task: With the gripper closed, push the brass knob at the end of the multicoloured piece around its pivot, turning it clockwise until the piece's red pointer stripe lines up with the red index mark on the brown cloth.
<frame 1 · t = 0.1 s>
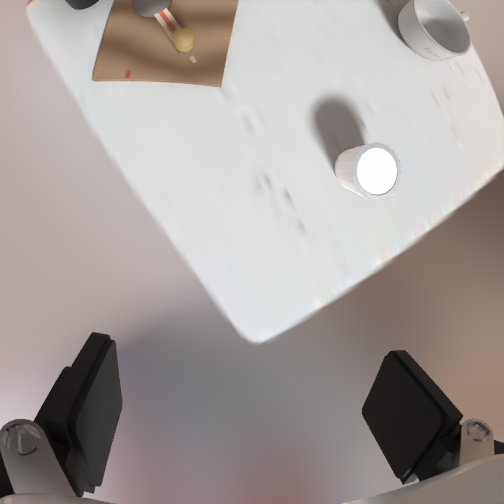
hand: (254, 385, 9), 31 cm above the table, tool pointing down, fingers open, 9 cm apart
multicoloured piece: (164, 15, 28), point 3 cm above the table, hinge at 0.0°
teacup: (422, 34, 34), on the table
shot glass: (352, 169, 39), on the table
brown cloth: (154, 7, 30), on the table
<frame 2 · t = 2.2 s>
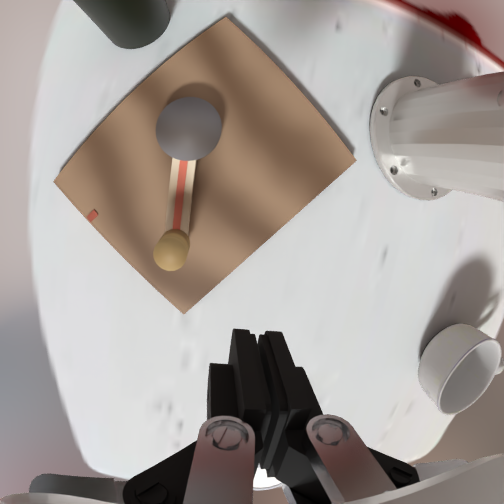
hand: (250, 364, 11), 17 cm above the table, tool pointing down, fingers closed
wine bottle: (138, 23, 20), on the table
multicoloured piece: (180, 178, 22), point 3 cm above the table, hinge at 0.0°
teacup: (446, 348, 35), on the table
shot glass: (257, 434, 35), on the table
brown cloth: (191, 131, 24), on the table
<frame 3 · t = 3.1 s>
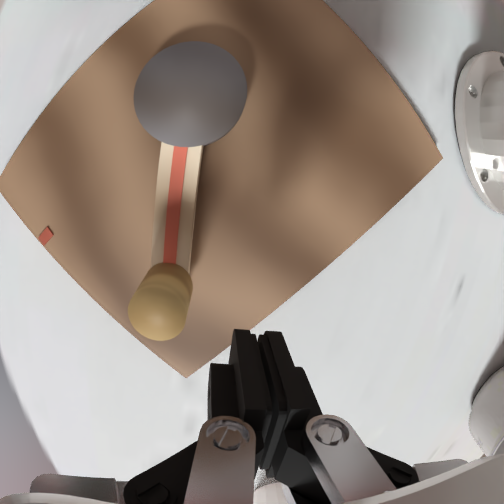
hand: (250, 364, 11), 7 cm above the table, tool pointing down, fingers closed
multicoloured piece: (173, 178, 12), point 3 cm above the table, hinge at 0.0°
teacup: (498, 385, 24), on the table
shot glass: (278, 491, 25), on the table
brown cloth: (194, 101, 14), on the table
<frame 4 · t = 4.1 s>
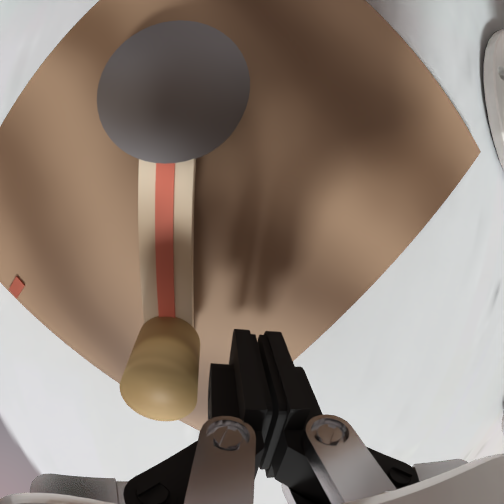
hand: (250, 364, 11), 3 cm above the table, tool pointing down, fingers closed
multicoloured piece: (158, 210, 9), point 3 cm above the table, hinge at -0.2°, touching gripper
brown cloth: (179, 101, 11), on the table
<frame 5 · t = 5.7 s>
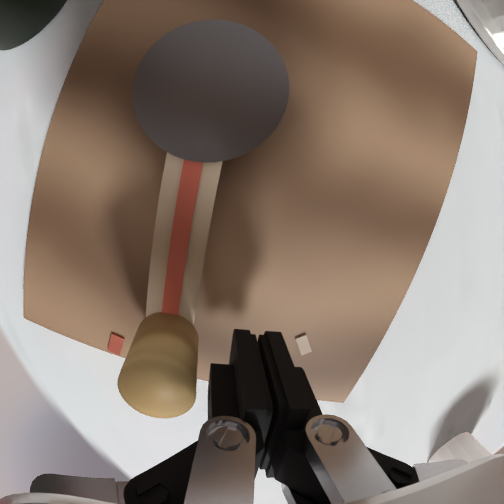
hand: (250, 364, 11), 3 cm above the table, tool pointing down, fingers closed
wine bottle: (29, 3, 8), on the table
multicoloured piece: (182, 207, 9), point 3 cm above the table, hinge at -32.2°, touching gripper
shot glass: (448, 449, 21), on the table
brown cloth: (211, 100, 11), on the table
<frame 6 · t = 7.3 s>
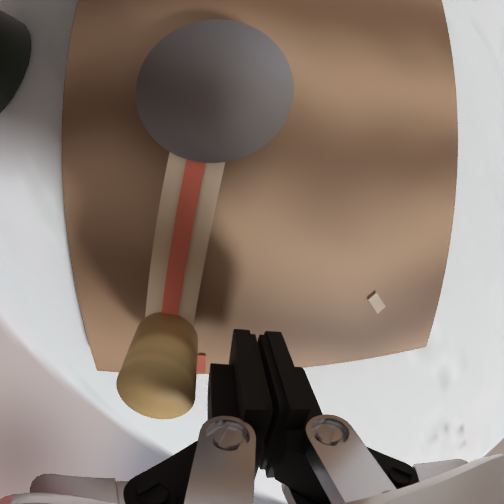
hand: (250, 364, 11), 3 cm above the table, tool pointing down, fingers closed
multicoloured piece: (184, 207, 9), point 3 cm above the table, hinge at -52.6°, touching gripper
brown cloth: (214, 100, 11), on the table
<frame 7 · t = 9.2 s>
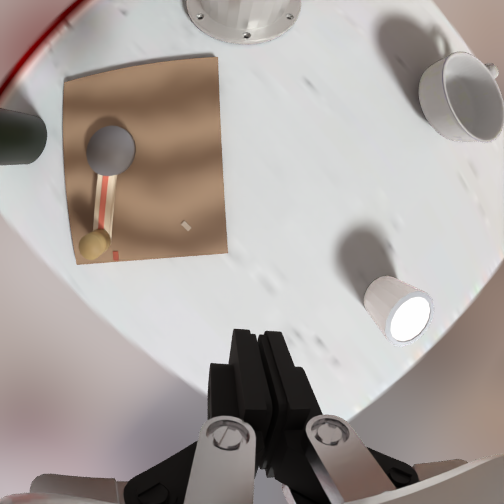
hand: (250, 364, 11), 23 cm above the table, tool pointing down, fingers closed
wine bottle: (29, 139, 27), on the table
multicoloured piece: (100, 190, 26), point 3 cm above the table, hinge at -52.6°
teacup: (443, 99, 31), on the table
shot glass: (382, 295, 37), on the table
brown cloth: (116, 151, 29), on the table
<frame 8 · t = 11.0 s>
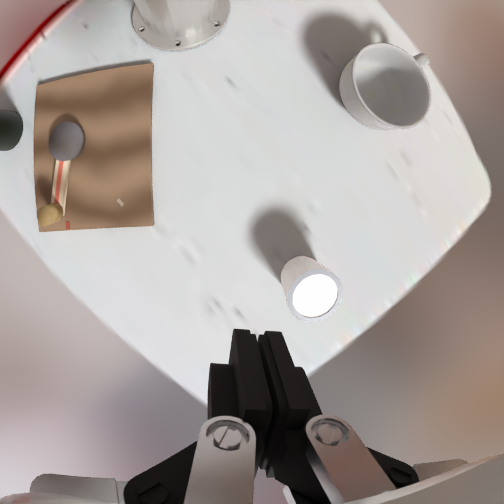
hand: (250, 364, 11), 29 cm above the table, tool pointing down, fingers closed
wine bottle: (10, 131, 31), on the table
multicoloured piece: (56, 172, 31), point 3 cm above the table, hinge at -52.6°
teacup: (373, 90, 36), on the table
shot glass: (300, 275, 42), on the table
brown cloth: (72, 142, 33), on the table
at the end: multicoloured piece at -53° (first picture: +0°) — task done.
